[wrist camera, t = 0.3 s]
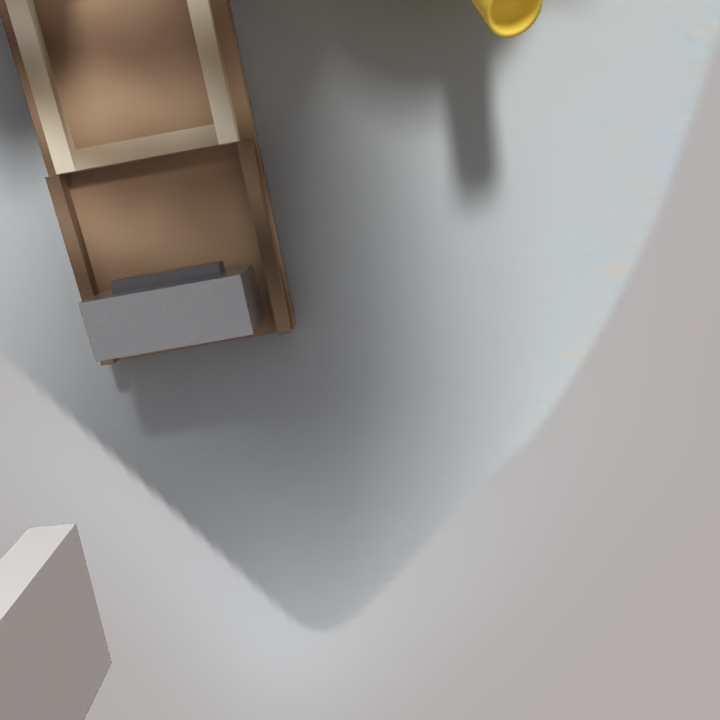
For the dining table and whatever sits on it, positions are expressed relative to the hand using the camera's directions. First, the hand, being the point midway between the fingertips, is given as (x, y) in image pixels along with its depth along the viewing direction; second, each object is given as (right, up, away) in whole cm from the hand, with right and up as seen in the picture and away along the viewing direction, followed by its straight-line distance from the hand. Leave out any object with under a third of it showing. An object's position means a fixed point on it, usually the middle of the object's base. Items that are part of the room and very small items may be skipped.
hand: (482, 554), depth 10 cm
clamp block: (-12, +7, +24) cm, 28 cm away
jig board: (-13, +14, +24) cm, 30 cm away
